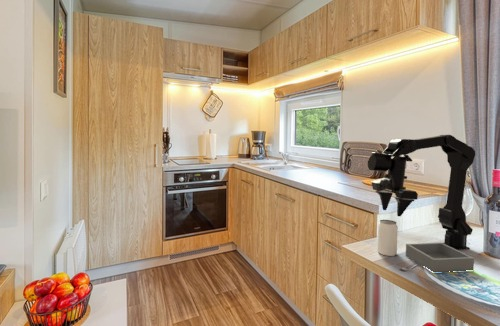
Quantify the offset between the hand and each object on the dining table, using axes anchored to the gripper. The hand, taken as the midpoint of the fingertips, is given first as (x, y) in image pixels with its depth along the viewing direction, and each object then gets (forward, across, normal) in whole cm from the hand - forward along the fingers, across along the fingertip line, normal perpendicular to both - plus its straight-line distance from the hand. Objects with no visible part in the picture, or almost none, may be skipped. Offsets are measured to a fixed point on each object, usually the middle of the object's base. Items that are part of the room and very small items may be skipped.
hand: (391, 213), depth 105 cm
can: (+15, +3, -2) cm, 15 cm away
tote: (+14, +13, +10) cm, 21 cm away
